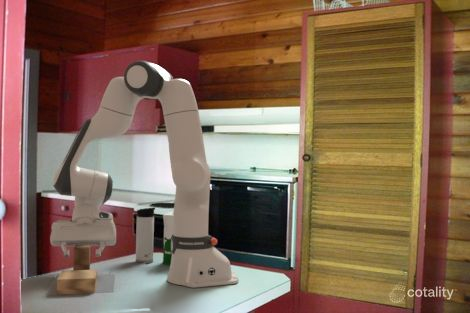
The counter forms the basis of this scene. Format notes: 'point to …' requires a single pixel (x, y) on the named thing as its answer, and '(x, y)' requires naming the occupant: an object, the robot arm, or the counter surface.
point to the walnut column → (81, 257)
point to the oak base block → (77, 281)
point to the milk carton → (168, 237)
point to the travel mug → (145, 235)
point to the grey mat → (103, 285)
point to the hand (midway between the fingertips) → (82, 255)
